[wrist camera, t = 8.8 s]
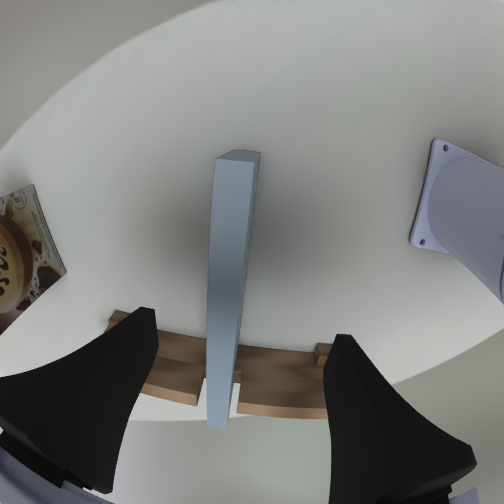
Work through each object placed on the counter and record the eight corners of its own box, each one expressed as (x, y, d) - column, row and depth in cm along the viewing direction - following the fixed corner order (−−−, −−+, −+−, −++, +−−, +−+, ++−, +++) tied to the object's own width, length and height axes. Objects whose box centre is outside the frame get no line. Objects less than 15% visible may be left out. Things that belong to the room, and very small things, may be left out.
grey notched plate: (234, 149, 16) (215, 158, 11) (260, 152, 16) (254, 162, 11) (218, 374, 25) (207, 425, 19) (234, 376, 25) (226, 428, 19)
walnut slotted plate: (355, 345, 22) (370, 399, 17) (340, 374, 24) (350, 425, 18) (111, 308, 22) (79, 352, 17) (118, 340, 24) (92, 383, 19)
